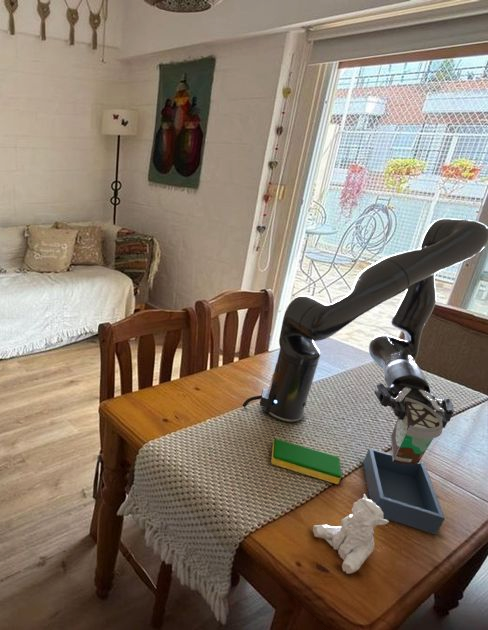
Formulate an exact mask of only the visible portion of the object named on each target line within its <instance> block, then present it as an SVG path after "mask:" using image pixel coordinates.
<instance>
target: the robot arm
mask: <svg viewBox="0 0 488 630" xmlns="http://www.w3.org/2000/svg"><path fill="white" fill-rule="evenodd" d="M487 244H488V226H487V225H486V224H484V223H482V222H480V221H475V220H470V219H469V220H468V219H457V218H439V219H437V220H434V222H432V223H431V224H430V225H429V226H428V227H427V230H426V231H425V233H424V235H423V237H422V240H421V243H420V247H419V248H417V249H413V250H408V251H403V252H398V253H395V254H392V255H389V256H386V257H383V258H381V259H380V260H378V261H376V262H375V263H372V264H371V265H369V266H367V267H366V268H364V269H363V270H361V272H359V274H357V276H356V278H355V279H354V282H353V285H352V288H351V290H350V292H348V294H346V295H345V296H343V297H342V298H341V299H339V300H337V301H335V302H333V303H330V304H327V303H325V302H323V301H321V300H319V299H317V298H314V297H313V296H310V295H298V296H297V297H294V298H293V299H292V300H291V301H290V302H289V304H288V305H287V307H286V308H285V309H286V310H285V312H284V315H283V317H282V323H281V327H280V334H279V340H278V344H279V352H278V356H277V360H276V363H275V367H274V371H273V373H272V376H271V380H270V383H269V388H268V389H267V388H262V390H261V394H260V395H256V396H251V397H249V398H247V399H246V400H245V401H244V402H243V404H242V405H241V406H242V407H243V408H246V407H247V406H248V404H249V403H250V402H252V401H256V400H259V401H260V402H259V406H261V407H263V408H264V414H267V415H269V416H271V417H273V418H274V419H276V420H280V421H282V422H287V423H296V422H299V421H301V420H302V418H303V413H304V412H305V411H304V410H305V408H307V403H308V398H309V394H310V390H311V387H312V384H313V381H314V377H315V374H316V371H317V368H318V365H319V361H320V358H321V351H320V349H319V348H318V347H317V345H316V343H315V342H321V341H324V340H327V339H328V338H331V337H332V336H334V335H335V334H336V333H338V332H339V331H341V330H342V329H344V328H346V326H348V325H349V324H351V323H352V322H354V321H355V320H357V319H358V318H360V317H361V316H362V315H364V314H366V313H367V312H369V311H371V310H372V309H374V308H376V307H377V306H379V305H381V304H382V303H384V302H387V301H388V300H390V299H392V298H394V297H396V296H398V295H400V294H402V293H403V292H405V293H404V294H403V296H402V298H401V300H400V302H399V304H398V306H397V308H396V310H395V312H394V314H393V315H392V318H391V321H390V324H391V326H393V327H394V328H396V329H398V330H399V331H401V332H402V333H403V334H404V339H401V338H398V337H395V336H392V335H389V334H386V333H385V334H384V333H381V334H378V335H376V336H373V338H372V339H371V340H370V342H369V345H368V352H369V355H370V357H371V359H372V360H373V361H374V362H375V363H376V364H377V365H378V366H379V368H381V369H382V371H383V374H384V375H383V376H384V381H385V384H386V385H384V384H383V383H382V382H378V383H377V385H376V387H375V390H374V394H375V397H376V398H377V400H378V402H379V403H380V405H381V406H382V407H390V409H391V410H392V411H393V414H394V416H396V417H397V419H400V420H403V419H404V417H405V414H406V410H405V407H404V405H403V402H404V400H405V398H406V397H407V398H410V399H413V400H416V401H418V402H421V403H423V404H425V405H426V406H428V407H430V408H431V409H433V410H434V411H435V412H436V413H437V414H438V415H439V416H440V417H441V419H442V424H443V427H442V430H443V429H445V428H446V426H447V424H448V422H450V421H451V418H452V417H453V415H454V413H455V409H454V405H453V401H452V399H451V398H448V397H444V398H443V399H440V398H436V397H435V395H434V394H433V393H431V387H430V385H429V383H428V380H427V379H426V377H425V375H424V373H423V371H422V370H421V368H420V367H419V365H418V363H417V362H416V361H417V359H418V355H419V351H420V343H421V339H422V335H423V331H424V328H425V327H426V324H427V323H428V321H429V318H430V317H431V315H432V314H433V312H434V309H435V306H436V304H437V303H436V302H437V290H436V281H435V278H436V277H435V276H436V274H437V273H439V272H441V271H443V270H446V269H448V268H450V267H452V266H455V265H457V264H460V263H462V262H464V261H466V260H468V259H471V258H473V257H475V256H476V255H478V253H481V251H482V250H483V249H484V248H485V247H486V246H487Z"/></svg>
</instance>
